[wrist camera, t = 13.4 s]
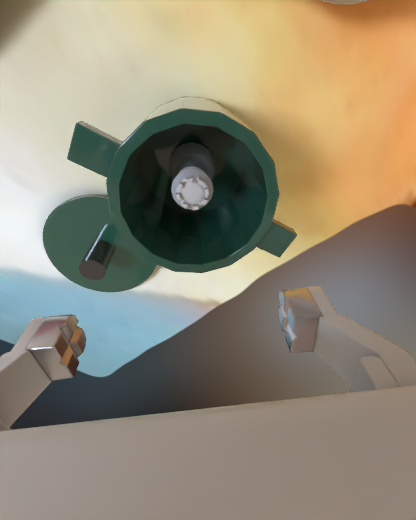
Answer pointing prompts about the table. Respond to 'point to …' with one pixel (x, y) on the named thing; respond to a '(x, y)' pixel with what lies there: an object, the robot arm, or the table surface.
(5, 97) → the table surface
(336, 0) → the flag stand
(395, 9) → the table surface
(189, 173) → the rook chess piece
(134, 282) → the tin lid
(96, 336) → the table surface
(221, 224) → the tin
